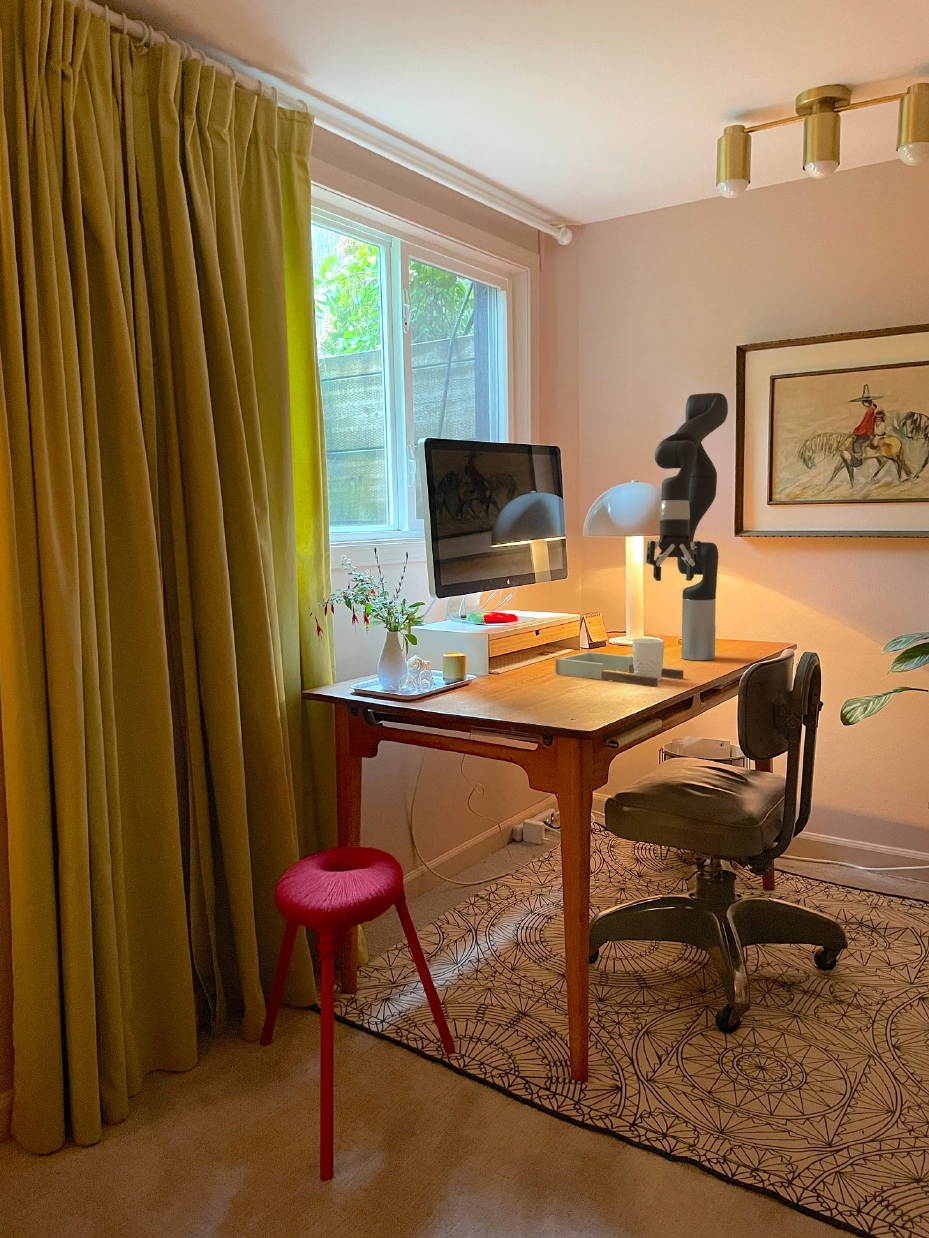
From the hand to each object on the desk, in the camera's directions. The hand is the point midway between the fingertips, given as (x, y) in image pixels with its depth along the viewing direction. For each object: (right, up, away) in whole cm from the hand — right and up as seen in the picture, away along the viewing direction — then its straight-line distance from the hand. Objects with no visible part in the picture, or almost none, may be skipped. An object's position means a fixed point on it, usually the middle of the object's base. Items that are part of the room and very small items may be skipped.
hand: (673, 580), depth 246 cm
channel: (-9, -25, -7) cm, 28 cm away
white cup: (-8, -26, -8) cm, 28 cm away
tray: (-20, -24, +2) cm, 31 cm away
